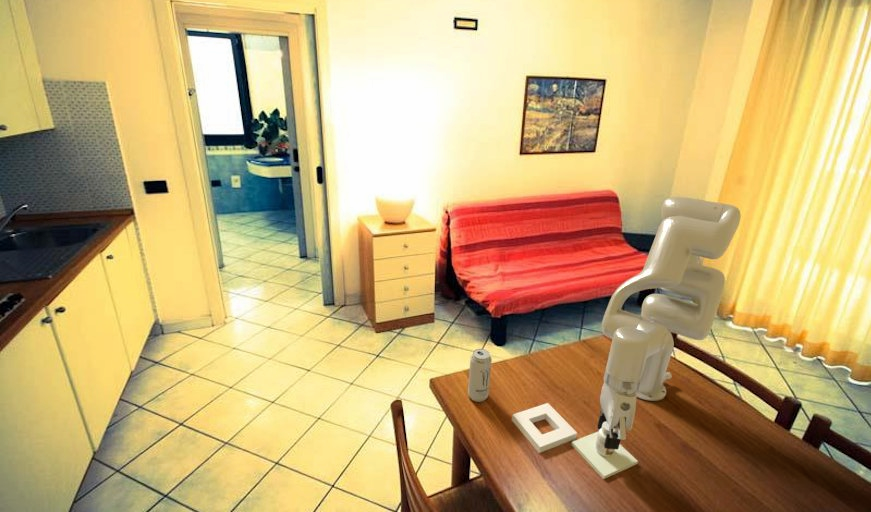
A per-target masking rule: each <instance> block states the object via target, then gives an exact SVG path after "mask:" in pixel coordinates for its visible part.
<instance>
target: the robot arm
mask: <svg viewBox="0 0 871 512" xmlns="http://www.w3.org/2000/svg"><path fill="white" fill-rule="evenodd" d="M660 215H661V220H662V221H661V222H660V225H659V226H658V229H657V231H656V234H655V237H654V240H653V242H652V245H651V247H650V249H649V252H648V255H647V257H646V261H645V263H644V266H643V269H642V270H641V272H639V273H637V274H635V275H634V276H632V277H630V278H628V279H627V280H625V281H623V283H621V284H620V285H619V286H618V287H617V288H616V290H615V291H614V293H612V295H611V298H610V299H609V301H608V304H607V307H606V310H605V312H604V315H603V318H602V321H601V332H602V333H603V335H604V336H606V337H607V338H608V339H611V340H612V341H611V345H610V348H609V354H608V358H607V362H606V367H605V370H604V376H603V384H602V387H601V391H600V392H601V393H600V397H599V404H600V407H601V409H600V411H599V413H600V415H599V418H598V422H597V429H598V430H600V429H601V428H602V424H603V422H605V421H607V422H608V425H609V434H607V435H606V439H605V444H604V447H605V448H607V449H618V448H619V444H620V445H621V440H623V441H626V440H627V435H626V434H627V433H626V431H628V432H629V431H630V432H631V430H632V427H633V425H634V420H635V413H636V407H637V398H639V399H642V400H645V401H650V402H651V401H652V402H656V401H657V402H658V401H661V400H663V399H664V398H665V397H666V395H667V389H666V386H665V385H664V382H665V381H666V380H670V379H671V378H672V377H673V375H672V373H671V372H670V371H667V369H668V366H669V363H670V360H671V357H672V352H673V349H674V345H675V342H674V338H673V335H672V333H673V334H677V335H678V336H679V335H680V336H682V337H685V338H688V339H692V340H695V341H703V340H705V339H706V338H708V336H709V334H710V332H711V330H712V327H713V324H714V321H715V318H716V315H717V311H718V309H719V306H720V303H721V300H722V296H723V293H724V290H725V285H726V276H725V274H724V273H723V271H721V270H719V269H718V268H714V267H710V266H707V265H702V264H699V263H698V261H699V257H700V258H705V259H709V260H718V259H719V258H721V257H722V256H724V254H725V253H726V251H727V250H728V248H729V246H730V244H731V243H732V240H733V239H734V236H735V234H736V231H737V230H738V228H739V226H740V222H741V216H742V215H741V210H740V209H739V208H738V207H737V206H734V205H732V204H728V203H724V202H723V203H722V202H715V201H710V200H709V201H708V200H703V199H698V198H690V197H683V196H672V197H668V198H666V199H665V200H664V201H663V203H662V205H661V209H660ZM649 289H650V290H652V289H661V290H662V291H665V292H668V293H671V294H674V295H677V296H681V297H685V298H688V299H691V300H695V301H696V302H697V303H693V302H689V301H687V300H683V299H680V298H677V297H674V296H670V295H667V294H662V293H661V294H660V293H651V294H649V295H647V296H646V297H645V298H644V300H643V302H642V304H641V314H640V315H638V314H636V313H632V312H629V311H627V310H623V309H622V307H623V305H624V303H625V302H626V300H627V299H628V298H630V296H631V295H633V294H635V293H638V292H640V291H645V290H649ZM613 428H617V433H613Z"/></svg>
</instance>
